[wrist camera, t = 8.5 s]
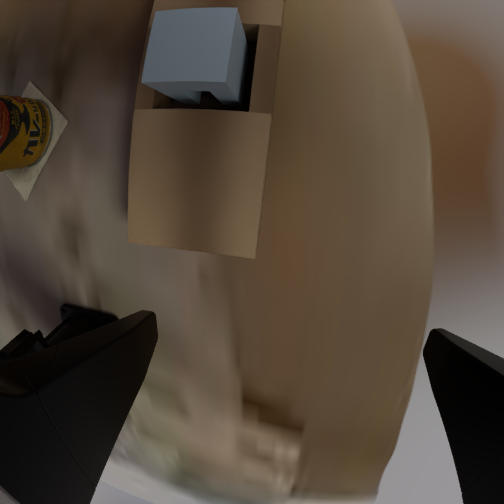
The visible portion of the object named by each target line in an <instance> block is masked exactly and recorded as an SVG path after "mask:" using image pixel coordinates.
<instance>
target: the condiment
mask: <svg viewBox="0 0 504 504" xmlns="http://www.w3.org/2000/svg"><path fill="white" fill-rule="evenodd" d="M67 123H68V120H67V119H66V118H65V117H64V116H63V115H62V114H61V113H60V112H59V111H58V110H57V108H56V107H55V106H54V105H53V104H52V103H51V102H50V101H49V100H48V99H47V98H46V97H45V96H44V95H43V94H42V93H41V92H40V91H39V90H38V89H37V88H36V87H35V86H34V85H33V84H32V83H31V81H29V83H28V85H27V86H26V88H25V90H24V92H23V94H22V96H21V97H19V96H17V97H13V96H6V95H5V96H3V95H0V171H4V172H5V174H6V175H7V177H8V178H9V179H10V181H12V183H13V185H14V186H15V188H16V189H17V190H18V191H19V193H20V194H21V196H22V197H23V198H24V200H25V201H26V202H27V200H28V197H29V195H30V193H31V191H32V189H33V186H34V184H35V182H36V180H37V178H38V175H39V174H40V172H41V170H42V168H43V166H44V165H45V163H46V161H47V159H48V157H49V155H50V154H51V152H52V150H53V148H54V146H55V145H56V143H57V141H58V140H59V137H60V136H61V134H62V133H63V131H64V129H65V127H66V126H67ZM26 167H27V169H25V168H26ZM22 169H25V170H24V171H23V170H22Z"/></svg>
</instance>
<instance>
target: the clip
mask: <svg viewBox="0 0 504 504" xmlns="http://www.w3.org/2000/svg"><path fill="white" fill-rule="evenodd" d="M248 58H249V48H248V45H247V41H246V37H245V33H244V30H243V26H242V23H241V19H240V15H239V12H238V8H228V7H217V8H189V9H175V10H165V11H156V12H155V16H154V20H153V24H152V28H151V33H150V37H149V42H148V47H147V52H146V57H145V63H144V68H143V74H142V80H141V83H143V84H145V85H147V86H149V87H151V88H153V89H155V90H157V91H159V92H161V93H163V94H165V95H167V96H169V97H171V98H173V99H175V100H177V101H178V102H180V103H182V104H200V98H201V91H210V92H211V93H212V94H213V95H214V96H215V97H216V98H217V99H218V100H219V101H220V102H221V103H222V104H223V105H228V106H241V107H242V104H243V96H244V88H245V81H246V73H247V66H248Z"/></svg>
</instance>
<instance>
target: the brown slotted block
mask: <svg viewBox="0 0 504 504" xmlns="http://www.w3.org/2000/svg"><path fill="white" fill-rule="evenodd" d="M284 4H285V0H154V4H153V8H152V12H151V16H150V21H149V25H148V29H147V34H146V39H145V44H144V49H143V54H142V60H141V66H140V72H139V78H138V84H137V91H136V99H135V107H134V116H133V125H132V136H131V148H130V163H129V183H128V242H129V243H137V244H145V245H152V246H160V247H168V248H175V249H183V250H191V251H199V252H207V253H215V254H222V255H230V256H238V257H246V258H254V259H255V255H256V250H257V245H258V238H259V229H260V221H261V212H262V203H263V195H264V186H265V177H266V168H267V159H268V151H269V142H270V133H271V124H272V115H273V106H274V97H275V88H276V78H277V69H278V60H279V51H280V42H281V32H282V23H283V13H284ZM217 7H228V8H238V12H239V15H240V19H241V23H242V26H243V30H244V33H245V37H246V41H255V42H257V49H256V57H255V65H254V73H253V82H252V90H251V99H250V107H249V112H243V111H229V110H210V109H170V106H171V97H169V96H167V95H165V94H163V93H161V92H159V91H157V90H155V89H153V88H151V87H149V86H147V85H145V84H143V83H141V80H142V74H143V68H144V63H145V57H146V52H147V47H148V42H149V37H150V33H151V28H152V24H153V20H154V16H155V12H156V11H165V10H175V9H189V8H217Z"/></svg>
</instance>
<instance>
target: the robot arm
mask: <svg viewBox="0 0 504 504" xmlns="http://www.w3.org/2000/svg"><path fill="white" fill-rule="evenodd" d="M65 310H66V311H65ZM60 312H61V317H62V323H61V324H60V325H59V326H57V327H56V328H55V329H54V330H53V331H52V332H51V333H50V334H49V335H48V336H47V337H46V338H44V337H43V334H42V333H41V331H40V330H38V331H36V332H35V333H34V334H33V333H32V332H29V331H27V330H25V329H24V330H23V331H22V332H21V333H19V334H18V335H17V336H16V337H15V338H14V339H13V340H11V341H10V342H9V343H8V344H7V345H6V346H5V347H3V348H2V349H1V350H0V504H90V502H91V500H92V497H93V495H94V492H95V489H96V487H97V484H98V482H99V480H100V477H101V475H102V472H103V470H104V468H105V465H106V463H107V461H108V458H109V456H110V454H111V451H112V449H113V447H114V445H115V442H116V440H117V438H118V435H119V433H120V431H121V429H122V427H123V424H124V422H125V420H126V418H127V415H128V413H129V411H130V409H131V407H132V405H133V402H134V400H135V398H136V396H137V394H138V392H139V390H140V387H141V385H142V383H143V381H144V379H145V376H146V373H147V370H148V367H149V364H150V361H151V358H152V355H153V352H154V349H155V346H156V343H157V339H158V331H157V321H156V315H155V313H154V312H152V311H146V310H141V311H139V312H136V313H134V314H132V315H129V316H127V317H124V318H122V319H119V320H118V319H117V318H116V317H113V316H109V315H105V314H101V313H97V312H93V311H89V310H85V309H81V308H78V307H74V306H70V305H67V304H63V305H62V306H61V307H60ZM112 321H113V322H112ZM423 357H424V361H425V364H426V368H427V372H428V376H429V380H430V384H431V388H432V391H433V394H434V397H435V400H436V403H437V406H438V409H439V412H440V415H441V418H442V421H443V424H444V428H445V431H446V434H447V438H448V441H449V444H450V448H451V452H452V455H453V459H454V463H455V467H456V471H457V475H458V479H459V483H460V488H461V492H462V499H463V503H464V504H504V358H501V357H500V356H498V355H495V354H493V353H491V352H489V351H487V350H485V349H483V348H481V347H479V346H477V345H475V344H473V343H471V342H469V341H467V340H465V339H463V338H461V337H459V336H457V335H455V334H453V333H450V332H448V331H447V330H445V329H442V328H438V329H432V330H431V331H430V333H429V336H428V338H427V341H426V344H425V346H424V349H423Z"/></svg>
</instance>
